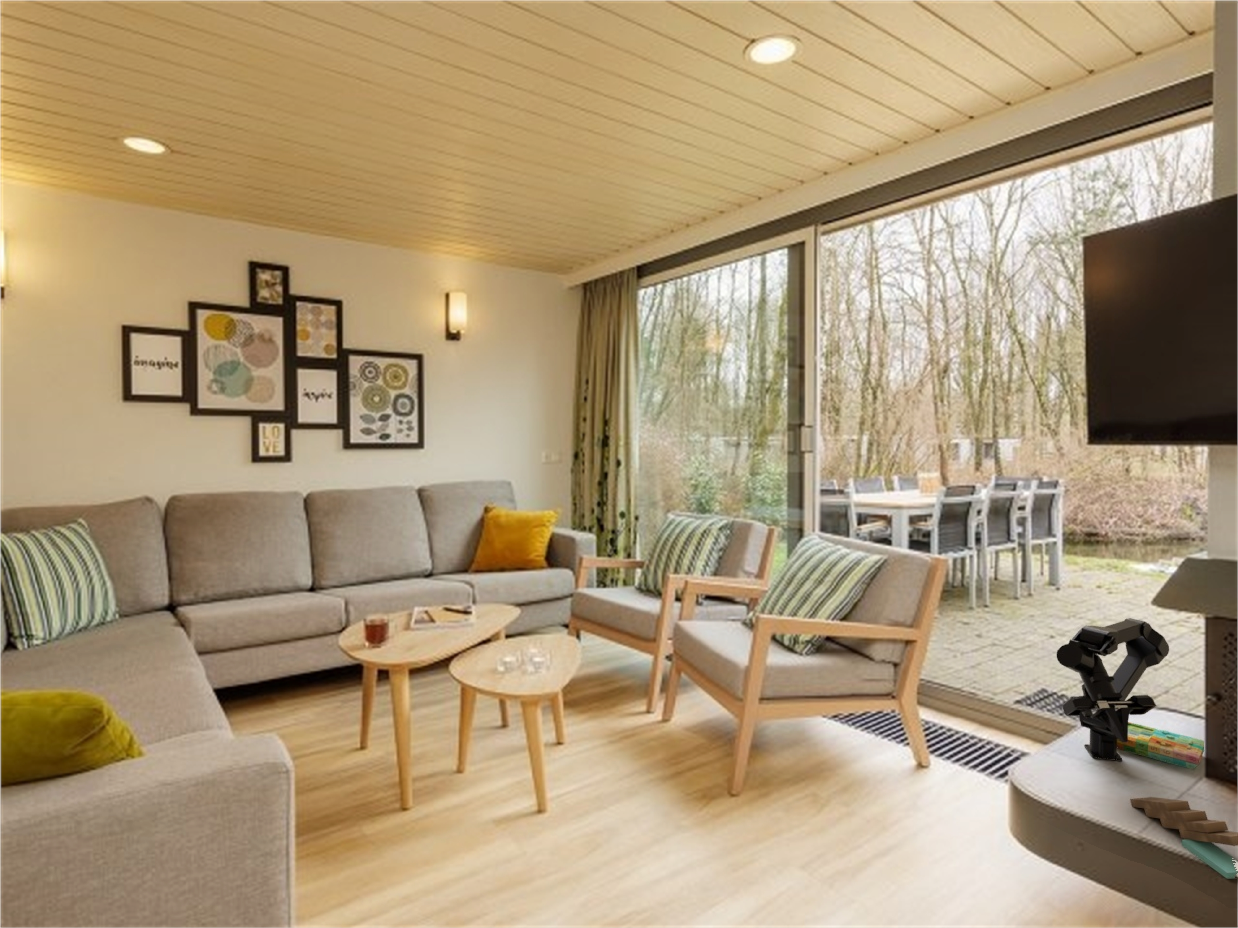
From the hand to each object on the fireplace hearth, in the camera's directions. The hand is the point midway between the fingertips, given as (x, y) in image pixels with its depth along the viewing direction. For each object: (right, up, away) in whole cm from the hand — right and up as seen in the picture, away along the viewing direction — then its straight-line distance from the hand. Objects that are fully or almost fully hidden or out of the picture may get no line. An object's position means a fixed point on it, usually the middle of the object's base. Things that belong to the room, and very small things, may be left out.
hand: (1125, 742), depth 159 cm
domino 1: (0, -11, -5) cm, 12 cm away
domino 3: (+1, -12, -13) cm, 17 cm away
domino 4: (+1, -12, -17) cm, 21 cm away
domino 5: (0, -13, -19) cm, 23 cm away
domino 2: (0, -12, -9) cm, 15 cm away
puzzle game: (+20, -10, +18) cm, 29 cm away
